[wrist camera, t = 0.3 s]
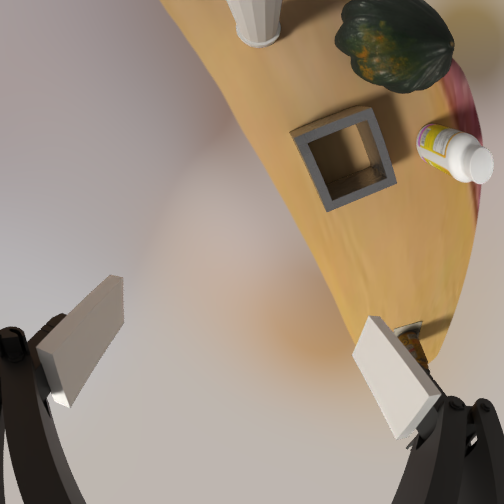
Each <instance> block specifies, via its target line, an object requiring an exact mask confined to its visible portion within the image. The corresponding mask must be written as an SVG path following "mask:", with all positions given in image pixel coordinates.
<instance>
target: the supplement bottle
mask: <svg viewBox="0 0 504 504" xmlns="http://www.w3.org/2000/svg"><path fill="white" fill-rule="evenodd" d="M416 144H417V150H418V153H419V155H420V157H421V158H422V159H423V160H424V161H425V162H426V163H428V164H430V165H432V166H434V167H435V168H437V169H439V170H441V171H443V172H445V173H446V174H448V175H450V176H451V177H453V178H455V179H456V180H458V181H460V182H470V181H474V182H476V183H478V184H483V183H485V182H487V181H488V180H489V178H490V177H491V175H492V172H493V166H494V161H493V157H492V154H491V152H490V151H489V150H488V149H487V148H485V147H483V146H481V145H480V143H479V141H478V140H477V139H476V138H475V137H474V136H472V135H470V134H468V133H465V132H462V131H458V130H455V129H452V128H448V127H445V126H441V125H437V124H428V125H426V126H424V127H423V128H422V129H421V130H420V132H419V133H418V136H417V141H416Z"/></svg>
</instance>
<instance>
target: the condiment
mask: <svg viewBox="0 0 504 504" xmlns="http://www.w3.org/2000/svg"><path fill="white" fill-rule="evenodd" d="M421 324H422V322H418V323H414V324H410V325H407V326H404V327H400V328H397V329H394V334H395V335H396V337H397V338H398V339H399V340H400V341H401V343H402V344H403V345H404V346H405V348H406V349H407V350H408V351H409V353H410V354H411V355H412V356H413V358H414V359H415V360H416V361H417V362H418V363H420V364H421V365H422V366H424V367H425V369H426V370H427V371H428V372H429V375H430V370H429V369H428V365H427V364H428V361H427V358H426V356H425V353H424V351H423V349H422V346H421V344H420V342H419V339H418V335H419V332H420V328H421Z"/></svg>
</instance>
